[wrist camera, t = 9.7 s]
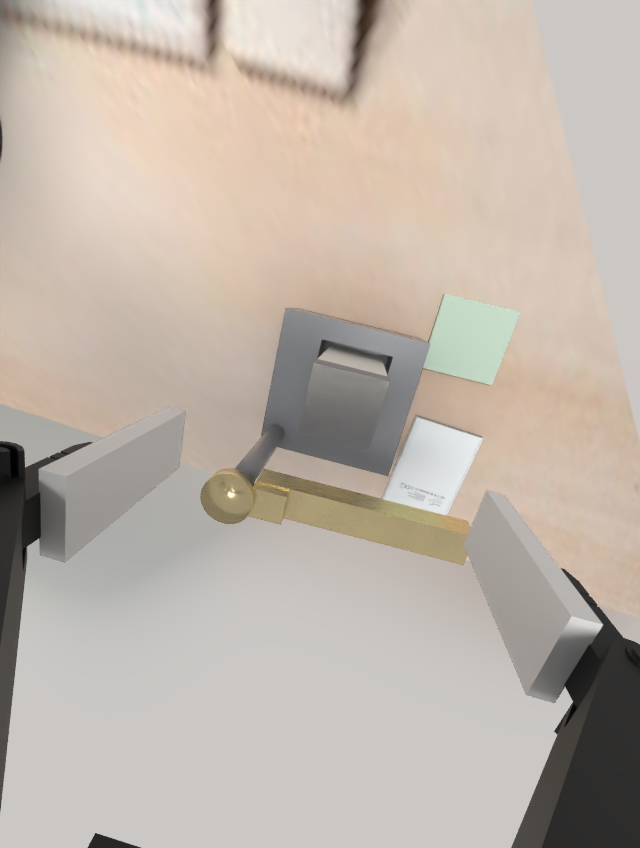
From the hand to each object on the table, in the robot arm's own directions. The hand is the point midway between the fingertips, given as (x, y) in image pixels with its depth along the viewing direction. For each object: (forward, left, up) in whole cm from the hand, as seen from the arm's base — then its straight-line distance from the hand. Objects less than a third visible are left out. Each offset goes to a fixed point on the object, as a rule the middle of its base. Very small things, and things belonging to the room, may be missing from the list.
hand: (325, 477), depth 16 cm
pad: (+11, +7, -28) cm, 31 cm away
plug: (0, 0, -26) cm, 26 cm away
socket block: (-1, -1, -28) cm, 29 cm away
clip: (+2, -7, -10) cm, 13 cm away
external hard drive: (+12, -9, -29) cm, 33 cm away
